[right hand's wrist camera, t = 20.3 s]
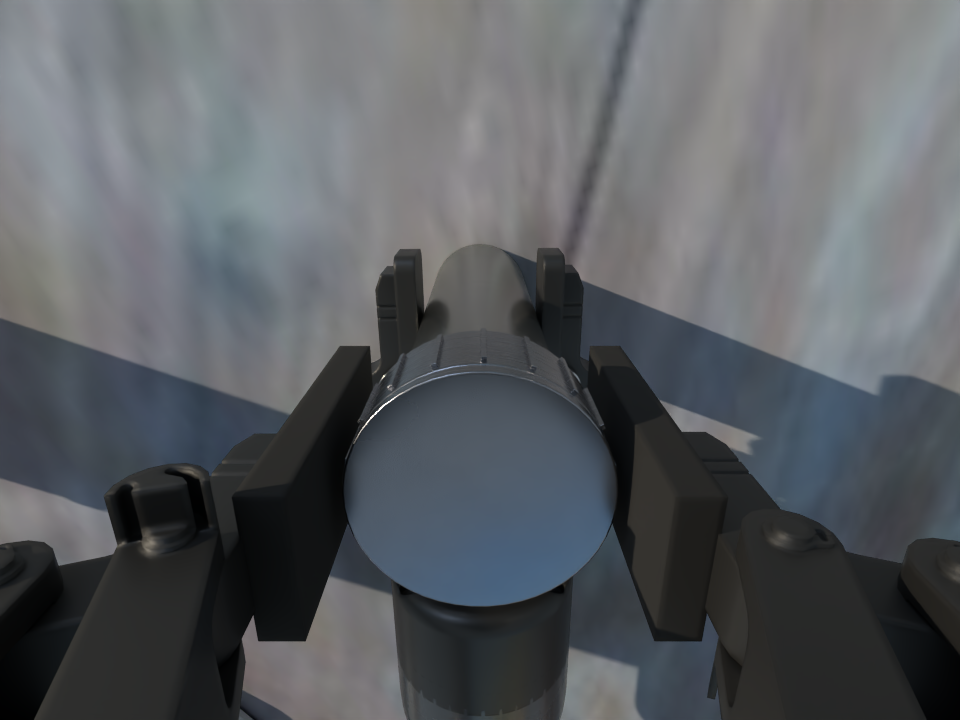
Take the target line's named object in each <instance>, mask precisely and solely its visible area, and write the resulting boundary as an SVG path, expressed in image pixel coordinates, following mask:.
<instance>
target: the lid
mask: <svg viewBox="0 0 960 720" xmlns="http://www.w3.org/2000/svg"><path fill="white" fill-rule="evenodd" d="M357 423H359V424H360V425H359V427H358V430H357V432H356V434H355V436H354V439H353V441H352V443H351V445H350V448H349V450H348V452H347V454H346V457H345V460H344V463H345V467H344V472H343V482H342V496H343V506H344V510H345V514H346V518H347V521H348V524H349V526H350V529H351V531H352V533H353V536H354V537H355V539H356V541H357V543H358V544H359V546H360V548H361V549H362V550H363V552H364V553H365V554H366V555H367V557H368V558H369V559H370V561H371V562H372V563H373V564H374V565H376V566H377V567H378V568H379V569H380V570H381V571H382V572H383V573H384V574H385V575H387V576H388V577H389V578H391V579H392V580H393V581H395V582H396V583H398V584H400V585H401V586H403V587H405V588H406V589H408V590H410V591H413V592H415V593H417V594H419V595H421V596H424V597H427V598H430V599H433V600H436V601H439V602H444V603H449V604H454V605H461V606H471V607H489V606H499V605H507V604H512V603H516V602H521V601H524V600H527V599H530V598H534V597H537V596H539V595H541V594H543V593H546V592H548V591H550V590H552V589H554V588H556V587H557V586H559V585H561V584H562V583H564V582H566V581H567V580H568V579H570V578H571V577H572V576H574V575H575V574H576V573H578V572H579V571H580V570H581V569H582V568H583V567H584V566H585V565H586V564H587V563H588V562H589V561H590V560H591V558H592V557H593V556H594V555H595V553H596V552H597V551H598V550H599V548H600V546H601V545H602V543H603V542H604V540H605V538H606V537H607V534H608V532H609V530H610V527H611V525H612V523H613V519H614V515H615V511H616V508H617V500H618V475H617V470H616V469H617V465H616V462H615V460H614V458H613V455H612V452H611V450H610V447H609V444H608V442H607V440H606V438H605V435H604V433H603V431H602V430H604V429H606V427H605V425H604V422H603V420H602V418H601V416H600V414H599V411H598V409H597V407H596V405H595V403H594V401H593V398H592V396H591V394H590V392H589V390H588V388H585V389H583V387H582V385H581V383H580V382H579V380H578V379H577V378H576V376H575V375H574V374H573V372H572V371H571V370H570V369H569V368H568V366H567V363H566V361H565V359H564V358H563V357H561V358H560V359H559V358H558V357H556V356H555V355H554V354H552V353H551V352H550V351H548V350H547V349H545V348H543V347H542V346H540V345H538V344H536V343H534V342H532V341H530V339H529V337H527V336H524V338H522V337H519V336H515V335H511V334H508V333H503V332H495V331H486V328H481V331H465V332H457V333H453V334H449V335H445V336H443V335H442V334H439V335H437V338H436V339H433V340H431V341H428V342H426V343H424V344H422V345H421V346H419V347H417V348H415V349H413V350H412V351H411V352H409V353H408V354H407V355H405V354H404V353H403V354H401V355H400V357H399V359H398V362H397V363H396V364H395V365H394V366H393V367H392V368H391V369H390V370H389V371H388V373H387V374H386V375H385V377H384V378H383V379H382V380H381V382H380V384H378V383H375V385H374V387H373V389H372V391H371V394H370V396H369V398H368V400H367V402H366V405H365V407H364V409H363V411H362V413H361V416H360V418H359V420H358V422H357Z"/></svg>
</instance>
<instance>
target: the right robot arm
mask: <svg viewBox="0 0 960 720" xmlns="http://www.w3.org/2000/svg"><path fill="white" fill-rule="evenodd" d="M587 388H588V390H589V392H590V394H591V396H592V398H593V401H594V403H595V405H596V407H597V409H598V411H599V414H600V416H601V418H602V420H603V422H604V425H605V427H606V429H604V430H602V431H603V433H604V435H605V438H606V440H607V442H608V444H609V447H610V450H611V452H612V455H613V458H614V460H615V462H616V465H617V469H616V470H617V475H618V500H617V508H616V511H615V515H614V519H613V523H612V524H613V526H614V529H615V532H616V535H617V538H618V540H619V543H620V546H621V549H622V552H623V554H624V557H625V560H626V563H627V566H628V568H629V571H630V574H631V577H632V580H633V583H634V585H635V588H636V591H637V594H638V597H639V599H640V602H641V605H642V608H643V611H644V613H645V616H646V619H647V622H648V625H649V627H650V630H651V633H652V636H653V639H654V641H702V637H703V631H704V626H705V620H706V615H707V614H708V616H709V618H710V620H711V622H712V624H713V626H714V628H715V630H716V632H717V634H718V636H719V638H718V643H717V648H716V653H715V658H714V663H713V668H712V673H711V678H710V683H709V689H708V696H707V698H711V699H715V697H716V692H717V687H718V695H719V703H720V711H721V719H722V720H960V542H958V541H953V540H944V539H937V538H928V539H919V540H916V541H914V542H913V543H912V544H910V545H909V546H908V548H907V551H906V554H905V557H904V560H903V563H897V562H892V561H887V560H882V559H877V558H872V557H867V556H862V555H857V554H853V553H849V552H846V551H845V549H844V547H843V545H842V544H841V542H840V541H839V540H838V538H837V537H836V536H835V535H834V533H832V532H831V531H830V530H828V529H827V528H825V527H824V526H823V525H821V524H820V523H818V522H816V521H814V520H812V519H809V518H807V517H805V516H803V515H800V514H796V513H792V512H788V511H784V510H781V509H780V508H779V507H778V506H777V504H776V503H775V502H774V501H773V500H772V498H771V497H770V496H769V495H768V494H767V492H766V491H765V490H764V489H763V488H762V487H761V485H760V484H759V483H758V482H757V481H756V479H755V478H754V477H753V476H752V475H751V474H749V473H748V472H749V471H748V470H747V469H746V467H745V466H744V465H743V464H742V463H741V462H739V461H738V458H737V457H736V456H735V454H734V453H733V452H732V451H731V450H730V448H729V447H728V446H727V445H726V444H725V443H723V442H721V441H720V440H718V439H716V438H715V437H713V436H711V435H710V434H708V433H706V432H681V430H680V429H679V427H678V426H677V425H676V423H675V422H674V420H673V419H672V418H671V416H670V415H669V414H668V412H667V411H666V409H665V408H664V407H663V405H662V404H661V402H660V401H659V400H658V398H657V397H656V395H655V394H654V393H653V391H652V390H651V389H650V387H649V386H648V384H647V383H646V382H645V380H644V379H643V377H642V376H641V375H640V373H639V372H638V370H637V369H636V368H635V366H634V365H633V364H632V362H631V361H630V359H629V358H628V357H627V355H626V354H625V352H624V351H623V350H622V348H621V347H620V346H590V355H589V369H588V382H587ZM372 389H373V382H372V369H371V355H370V346H340V347H339V348H338V350H337V351H336V352H335V354H334V355H333V357H332V358H331V359H330V361H329V362H328V363H327V365H326V366H325V368H324V369H323V370H322V372H321V373H320V375H319V376H318V377H317V379H316V380H315V382H314V383H313V384H312V386H311V387H310V389H309V390H308V391H307V393H306V394H305V395H304V397H303V398H302V400H301V401H300V402H299V404H298V405H297V407H296V408H295V409H294V411H293V412H292V414H291V415H290V416H289V418H288V419H287V420H286V422H285V423H284V425H283V426H282V427H281V429H280V430H279V432H278V433H277V434H254V435H252V436H250V437H249V438H247V439H245V440H244V441H242V442H240V443H239V444H237V445H236V446H234V447H233V448H232V450H231V451H230V452H229V453H228V454H227V456H226V457H225V458H224V459H223V460H222V464H219V465H218V466H217V468H216V469H215V470H214V471H213V472H212V476H209V473H208V471H206V470H205V469H204V468H202V467H201V466H198V465H193V464H187V463H181V464H166V465H162V466H157V467H152V468H148V469H146V470H143V471H140V472H138V473H135V474H132V475H130V476H128V477H126V478H125V479H123V480H121V481H120V482H118V483H117V484H115V485H113V486H112V488H111V489H110V490H109V491H108V492H107V493H106V494H105V495H104V499H105V502H106V506H107V509H108V513H109V516H110V520H111V524H112V527H113V531H114V534H115V538H116V541H117V545H118V546H117V548H116V550H115V552H114V554H113V555H109V556H105V557H101V558H96V559H91V560H86V561H81V562H76V563H71V564H66V565H61V566H58V563H57V560H56V557H55V554H54V551H53V548H51V547H50V546H49V545H47V544H46V543H44V542H37V541H29V540H28V541H21V542H13V543H6V544H1V545H0V720H239V713H240V704H241V696H242V688H243V679H244V671H245V663H246V661H245V654H244V648H243V643H242V637H243V635H244V633H245V631H246V629H247V627H248V625H249V623H250V620H251V618H252V616H253V615H254V621H255V626H256V631H257V637H258V641H306V639H307V636H308V633H309V630H310V627H311V625H312V622H313V619H314V616H315V613H316V611H317V608H318V605H319V602H320V599H321V597H322V594H323V591H324V588H325V585H326V583H327V580H328V577H329V574H330V571H331V568H332V566H333V563H334V560H335V557H336V554H337V552H338V549H339V546H340V543H341V540H342V538H343V535H344V532H345V529H346V526H347V524H348V521H347V518H346V514H345V510H344V506H343V496H342V482H343V472H344V467H345V463H344V460H345V457H346V454H347V452H348V450H349V448H350V445H351V443H352V441H353V439H354V436H355V434H356V432H357V430H358V427H359V425H360V424H359V423H357V422H358V420H359V418H360V416H361V413H362V411H363V409H364V407H365V405H366V402H367V400H368V398H369V396H370V394H371V391H372Z"/></svg>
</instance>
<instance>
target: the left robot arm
mask: <svg viewBox="0 0 960 720" xmlns="http://www.w3.org/2000/svg"><path fill="white" fill-rule="evenodd" d="M583 290H584V288H583V285H582V282H581V279H580V276H579V274H578V272H577V271H576V270H575V268H574V267H573V266H572V265H565V259H564V255H563V253H562V252H561V251H560V250H559V248H538V251H537V274H536V312H535V313H536V315H537V318H538V321H539V324H540V327H541V330H542V333H543V336H544V338H545V341H546V344H547V347H548V350H549V351H550V352H551V353H552V354H554V355H555V356H556V357H558V358H559V359H560V358H561V357H563V358H564V359H565V361H566V363H567V366H568V368H569V369H570V370H571V371H572V372H573V374H574V375H575V376H576V378H577V379H578V380H579V382H580V383H581V385H582V387H583V389H585V388H587V382H588V369H589V361H587V360H585V359H583V358H581V357H580V342H581V325H582V304H583ZM376 302H377V315H378V328H379V340H380V353H381V358H380V359H379V360H378V361H376V362H373V363H371V369H372V382H373V387H374V385H375V383H378V384H380V382H381V380H382V379H383V378H384V377H385V375H386V374H387V373H388V371H389V370H390V369H391V368H392V367H393V366H394V365H395V364H396V363H397V362H398V359H399V357H400V355H401V354H403V353H404V354H405V355H407V354H408V353H409V352H411V350H412V347H413V344H414V342H415V339H416V336H417V333H418V330H419V327H420V324H421V321H422V318H423V315H424V295H423V275H422V256H421V250H420V249H400V250H399V251H398V252H397V254H396V255H395V257H394V266H387V267H386V268H385V270H384V271H383V272H382V273H381V275H380V278H379V281H378V284H377V287H376ZM391 583H392V595H393V607H394V619H395V631H396V643H397V655H398V667H399V679H400V689H401V696H402V702H403V707H404V711H405V715H406V718H407V720H560V718H561V714H562V710H563V706H564V700H565V693H566V684H567V667H568V651H569V635H570V617H571V600H572V584H573V576H572V577H571V578H570V579H568V580H567V581H566V582H564V583H562V584H561V585H559V586H557V587H556V588H554V589H552V590H550V591H548V592H546V593H543V594H541V595H539V596H537V597H534V598H530V599H527V600H524V601H521V602H516V603H512V604H507V605H499V606H489V607H471V606H461V605H454V604H449V603H444V602H439V601H436V600H433V599H430V598H427V597H424V596H421V595H419V594H417V593H415V592H413V591H410V590H408V589H406V588H405V587H403V586H401V585H400V584H398V583H396V582H395V581H393V580H392V579H391Z"/></svg>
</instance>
